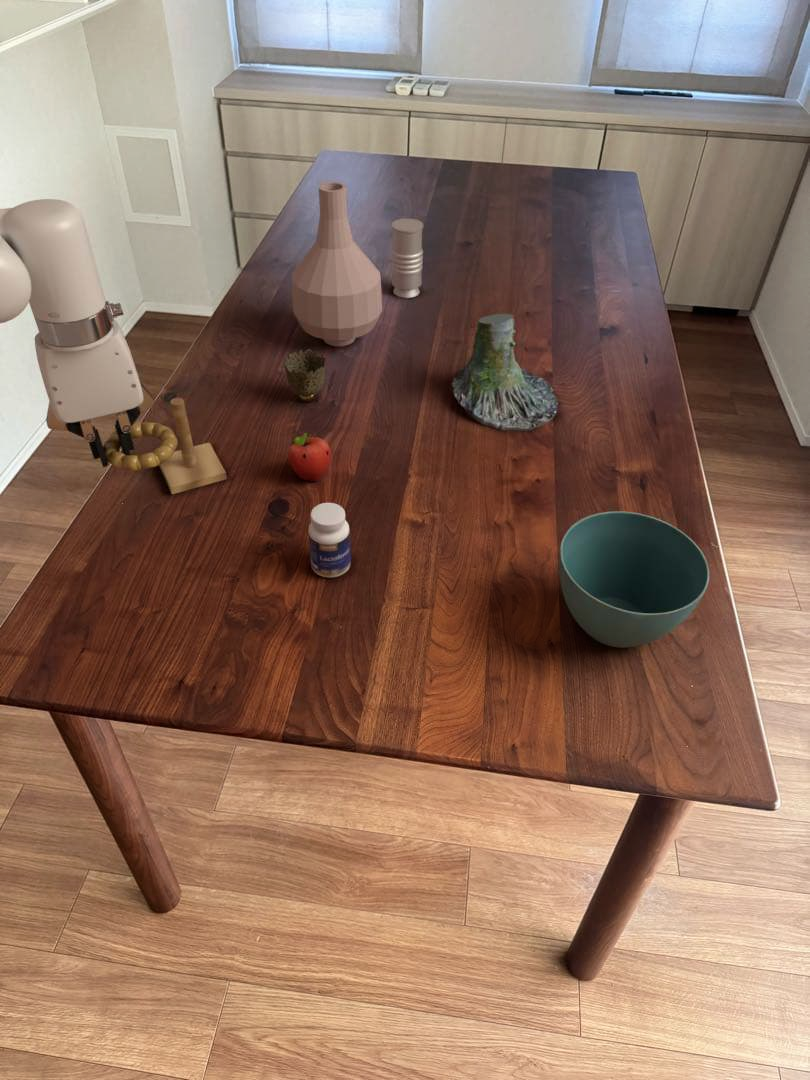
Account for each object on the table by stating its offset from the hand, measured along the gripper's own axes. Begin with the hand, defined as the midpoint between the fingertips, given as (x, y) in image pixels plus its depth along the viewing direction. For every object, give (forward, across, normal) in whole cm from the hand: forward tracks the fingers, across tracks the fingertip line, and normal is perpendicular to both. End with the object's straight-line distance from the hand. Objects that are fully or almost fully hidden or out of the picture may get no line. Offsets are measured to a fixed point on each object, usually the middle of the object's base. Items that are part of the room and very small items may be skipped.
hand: (115, 456), depth 99 cm
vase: (+21, -50, -51) cm, 74 cm away
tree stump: (+21, -68, -17) cm, 74 cm away
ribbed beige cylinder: (+21, -71, -64) cm, 98 cm away
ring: (-1, -3, 0) cm, 3 cm away
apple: (+21, -28, -10) cm, 37 cm away
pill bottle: (+21, -24, +10) cm, 33 cm away
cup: (+21, -36, -33) cm, 53 cm away
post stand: (+21, -11, -20) cm, 31 cm away
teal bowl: (+21, -54, +36) cm, 69 cm away
